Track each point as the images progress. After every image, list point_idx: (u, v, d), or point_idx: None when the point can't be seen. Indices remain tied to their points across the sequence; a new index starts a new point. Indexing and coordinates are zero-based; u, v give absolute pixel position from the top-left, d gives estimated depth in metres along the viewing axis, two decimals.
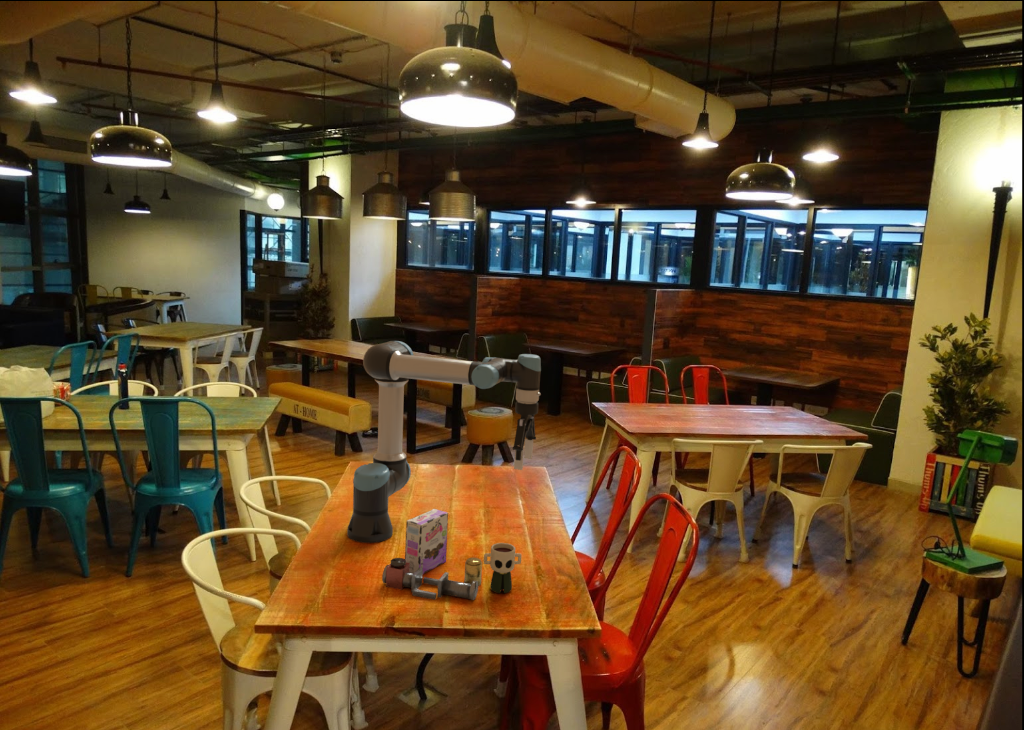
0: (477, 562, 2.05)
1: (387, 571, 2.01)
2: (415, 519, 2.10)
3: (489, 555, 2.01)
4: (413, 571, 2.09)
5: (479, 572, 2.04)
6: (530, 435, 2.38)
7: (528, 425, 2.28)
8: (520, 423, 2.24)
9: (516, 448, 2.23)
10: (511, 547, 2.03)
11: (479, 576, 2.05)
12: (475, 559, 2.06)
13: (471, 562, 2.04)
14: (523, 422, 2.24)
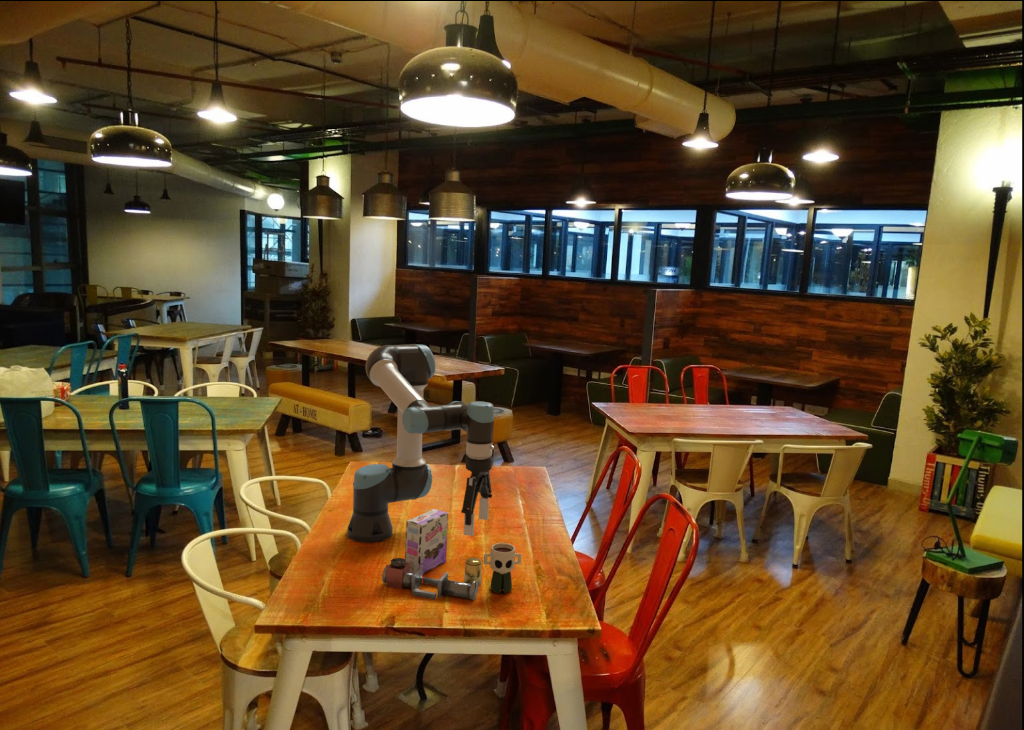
0: (477, 562, 2.05)
1: (387, 571, 2.01)
2: (415, 519, 2.10)
3: (489, 555, 2.01)
4: (413, 571, 2.09)
5: (479, 572, 2.04)
6: (485, 493, 2.08)
7: (480, 484, 1.99)
8: (470, 482, 1.95)
9: (465, 512, 1.93)
10: (511, 547, 2.03)
11: (479, 576, 2.05)
12: (475, 559, 2.06)
13: (471, 563, 2.04)
14: (473, 481, 1.95)
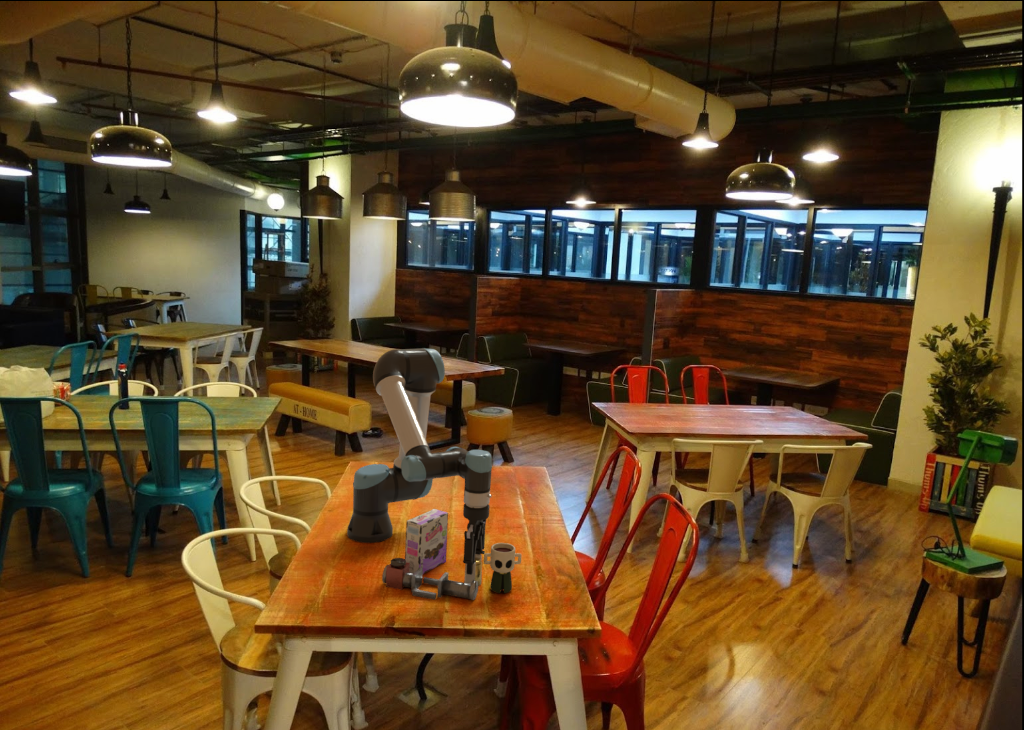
0: (477, 562, 2.05)
1: (387, 571, 2.01)
2: (415, 519, 2.10)
3: (489, 555, 2.01)
4: (413, 571, 2.09)
5: (479, 572, 2.04)
6: (478, 547, 2.07)
7: (478, 533, 2.01)
8: (467, 536, 1.98)
9: (466, 562, 1.99)
10: (511, 547, 2.03)
11: (479, 576, 2.05)
12: (475, 559, 2.06)
13: None
14: (470, 535, 1.97)
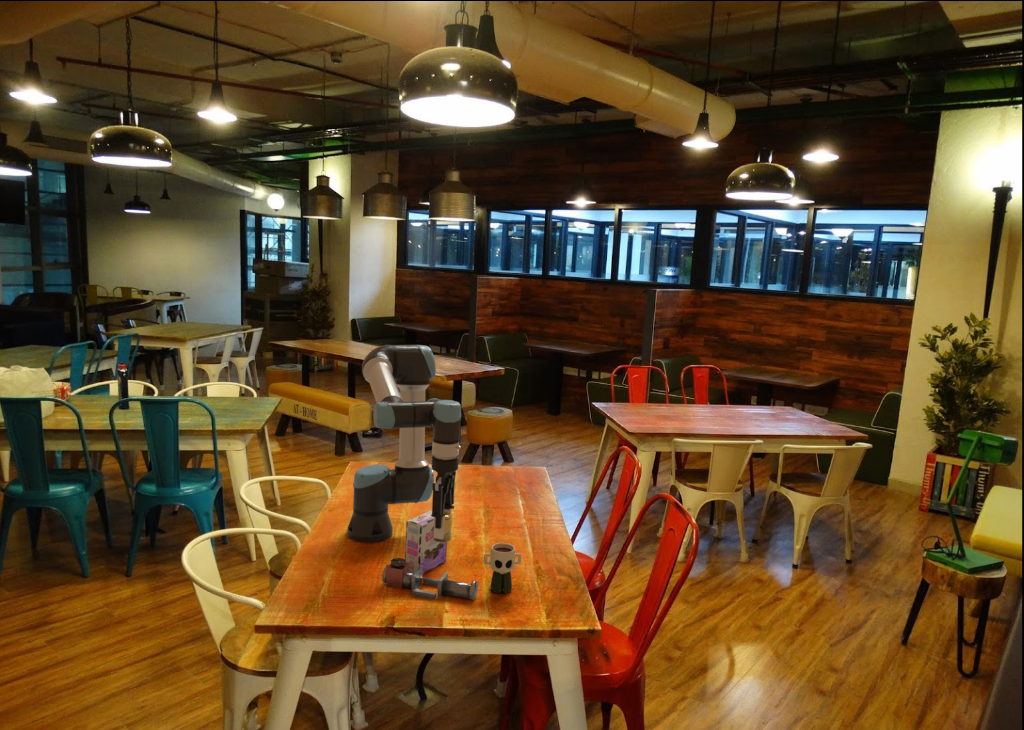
0: (446, 516, 1.98)
1: (387, 571, 2.01)
2: (415, 519, 2.10)
3: (489, 555, 2.01)
4: (413, 571, 2.09)
5: (449, 527, 1.98)
6: (448, 501, 2.01)
7: (447, 486, 1.95)
8: (436, 488, 1.91)
9: (435, 515, 1.93)
10: (511, 547, 2.03)
11: (449, 531, 1.98)
12: (444, 514, 2.00)
13: None
14: (439, 487, 1.91)
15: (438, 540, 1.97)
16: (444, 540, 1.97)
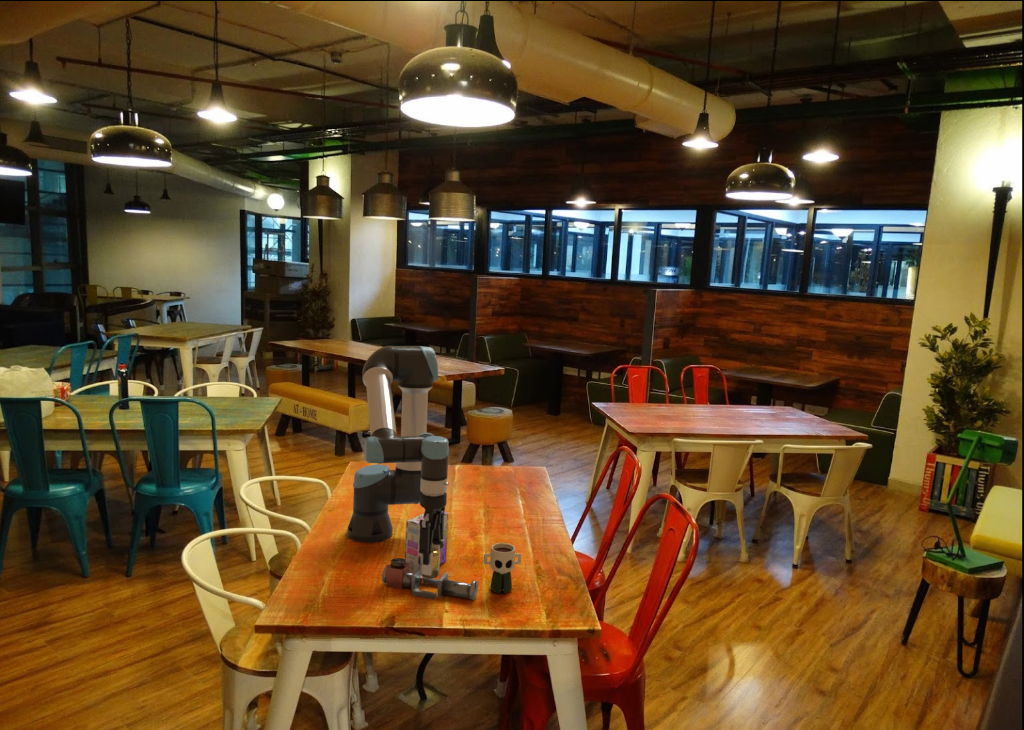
0: (434, 552, 1.98)
1: (387, 571, 2.01)
2: (415, 519, 2.10)
3: (489, 555, 2.01)
4: (413, 571, 2.09)
5: (437, 563, 1.97)
6: (436, 537, 2.01)
7: (434, 522, 1.95)
8: (423, 525, 1.91)
9: (422, 552, 1.93)
10: (511, 547, 2.03)
11: (437, 567, 1.98)
12: (433, 549, 2.00)
13: None
14: (426, 524, 1.91)
15: (426, 576, 1.97)
16: (432, 576, 1.97)
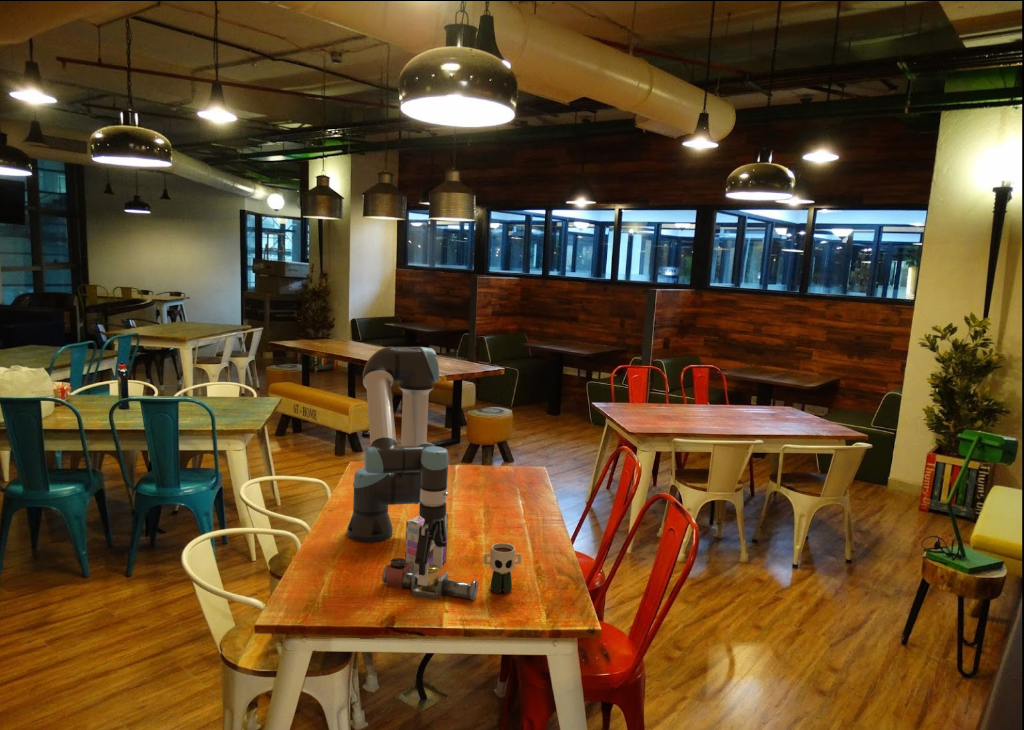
0: (434, 569, 1.99)
1: (387, 571, 2.01)
2: (415, 519, 2.10)
3: (489, 555, 2.01)
4: (413, 571, 2.09)
5: (436, 579, 1.98)
6: (439, 541, 2.03)
7: (433, 532, 1.95)
8: (422, 532, 1.91)
9: (418, 562, 1.90)
10: (511, 547, 2.03)
11: (436, 583, 1.99)
12: (432, 566, 2.00)
13: None
14: (425, 531, 1.91)
15: None
16: None
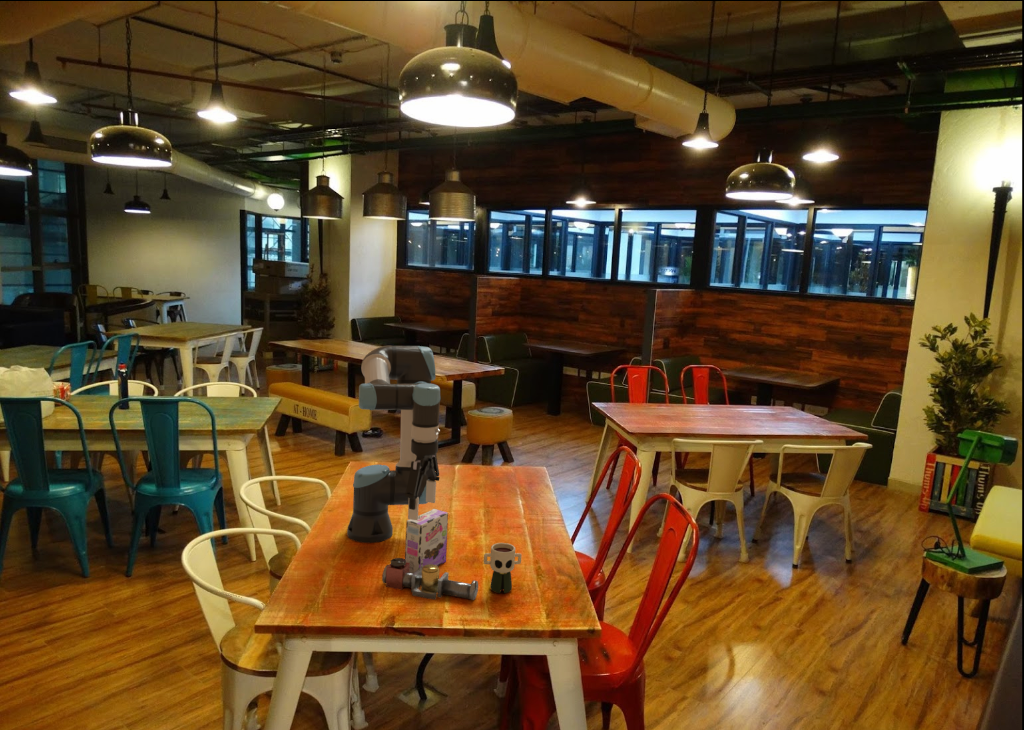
0: (434, 569, 1.99)
1: (387, 571, 2.01)
2: None
3: (489, 555, 2.01)
4: (413, 571, 2.09)
5: (436, 579, 1.98)
6: (432, 476, 2.04)
7: (425, 467, 1.94)
8: (414, 466, 1.91)
9: (408, 496, 1.89)
10: (511, 547, 2.03)
11: (436, 583, 1.99)
12: (432, 566, 2.00)
13: (427, 569, 1.98)
14: (417, 465, 1.90)
15: None
16: None
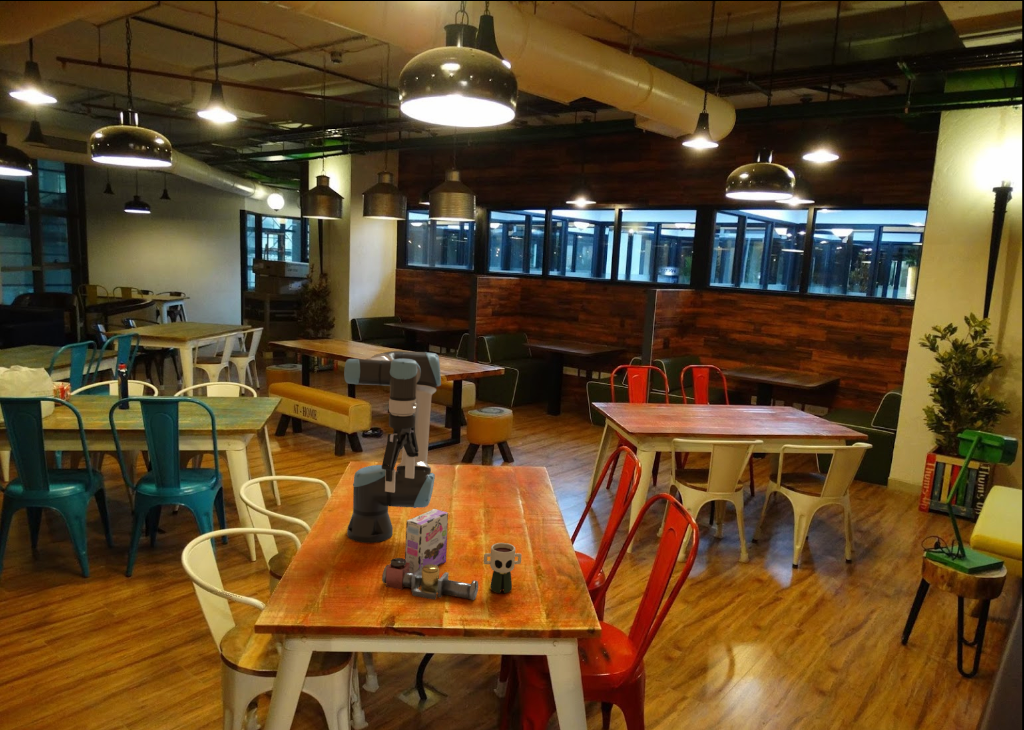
0: (434, 569, 1.99)
1: (387, 571, 2.01)
2: (415, 519, 2.10)
3: (489, 555, 2.01)
4: (413, 571, 2.09)
5: (436, 579, 1.98)
6: (410, 451, 2.07)
7: (402, 441, 1.98)
8: (390, 438, 1.94)
9: (385, 468, 1.92)
10: (511, 547, 2.03)
11: (436, 583, 1.99)
12: (432, 566, 2.00)
13: (427, 569, 1.98)
14: (394, 437, 1.94)
15: None
16: None
